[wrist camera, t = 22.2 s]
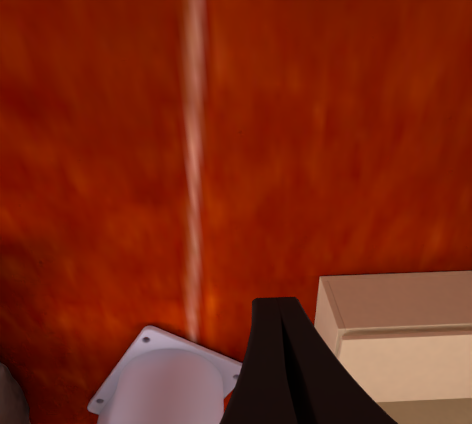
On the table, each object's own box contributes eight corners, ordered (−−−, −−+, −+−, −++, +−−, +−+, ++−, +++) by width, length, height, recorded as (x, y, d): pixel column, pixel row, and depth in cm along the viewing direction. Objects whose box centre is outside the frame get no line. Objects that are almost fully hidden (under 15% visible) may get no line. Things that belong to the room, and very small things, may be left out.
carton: (319, 276, 26) (338, 329, 22) (539, 267, 26) (595, 318, 22) (307, 391, 31) (319, 450, 27) (489, 382, 31) (527, 439, 28)
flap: (340, 335, 22) (342, 340, 21) (599, 324, 22) (604, 329, 22) (330, 400, 24) (331, 404, 24) (560, 389, 25) (564, 393, 24)
